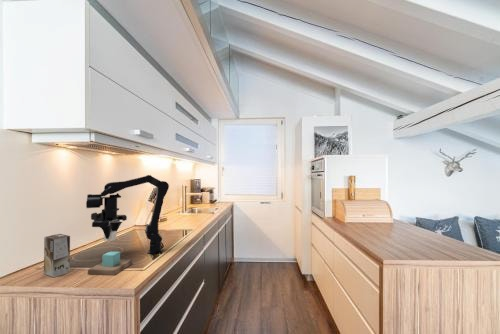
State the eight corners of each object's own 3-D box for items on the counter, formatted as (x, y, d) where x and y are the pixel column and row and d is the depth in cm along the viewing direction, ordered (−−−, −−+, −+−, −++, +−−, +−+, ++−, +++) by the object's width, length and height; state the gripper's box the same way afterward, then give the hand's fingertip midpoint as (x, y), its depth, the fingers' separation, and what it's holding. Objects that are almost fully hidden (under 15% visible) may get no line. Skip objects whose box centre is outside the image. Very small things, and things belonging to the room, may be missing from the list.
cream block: (109, 238, 123) (109, 230, 123) (116, 238, 123) (116, 230, 123) (103, 240, 119) (103, 232, 119) (111, 240, 119) (111, 232, 119)
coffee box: (70, 272, 105) (71, 235, 105) (53, 277, 99) (53, 239, 100) (59, 268, 109) (60, 233, 109) (42, 273, 103) (43, 236, 104)
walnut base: (108, 263, 115) (108, 259, 115) (131, 263, 114) (131, 259, 114) (87, 274, 102) (87, 269, 102) (114, 275, 101) (114, 270, 101)
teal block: (109, 262, 111) (109, 251, 111) (120, 262, 110) (120, 251, 111) (102, 266, 106) (102, 255, 106) (112, 266, 106) (113, 255, 106)
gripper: (108, 204, 132) (108, 232, 131) (81, 209, 113) (81, 242, 113) (127, 204, 131) (127, 233, 130) (103, 209, 112) (103, 242, 112)
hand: (110, 237), depth 121 cm, fingers closed on cream block, 4 cm apart
